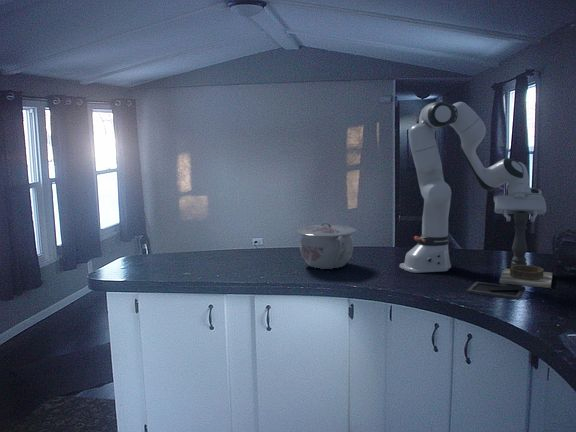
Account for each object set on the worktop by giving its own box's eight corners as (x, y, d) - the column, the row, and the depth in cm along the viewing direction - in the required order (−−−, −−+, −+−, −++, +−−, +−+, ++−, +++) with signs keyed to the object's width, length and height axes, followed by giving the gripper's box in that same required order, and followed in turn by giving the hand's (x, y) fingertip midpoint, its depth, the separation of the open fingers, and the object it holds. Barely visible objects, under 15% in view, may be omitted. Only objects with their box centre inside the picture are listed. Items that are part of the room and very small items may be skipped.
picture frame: (525, 291, 199) (476, 285, 209) (525, 286, 199) (476, 280, 209) (518, 301, 188) (466, 294, 198) (518, 296, 188) (466, 289, 198)
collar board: (550, 288, 201) (551, 276, 200) (499, 283, 209) (499, 271, 209) (552, 276, 217) (552, 265, 216) (504, 272, 225) (505, 261, 224)
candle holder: (528, 272, 224) (530, 213, 220) (512, 271, 225) (514, 213, 221) (524, 268, 230) (527, 211, 226) (509, 268, 231) (511, 211, 227)
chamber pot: (307, 257, 261) (306, 216, 258) (362, 260, 252) (362, 217, 249) (288, 272, 235) (286, 226, 232) (349, 275, 226) (348, 227, 223)
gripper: (493, 190, 232) (494, 215, 224) (545, 190, 226) (548, 216, 218) (492, 199, 237) (493, 224, 229) (543, 199, 231) (546, 225, 223)
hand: (520, 220), depth 223 cm, fingers open, 8 cm apart
